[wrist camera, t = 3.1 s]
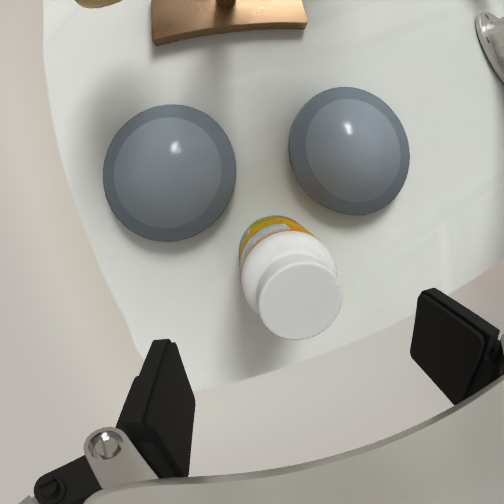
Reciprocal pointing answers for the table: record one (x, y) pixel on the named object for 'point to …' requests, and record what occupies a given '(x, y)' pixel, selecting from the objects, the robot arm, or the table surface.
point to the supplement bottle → (289, 278)
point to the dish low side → (169, 173)
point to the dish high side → (349, 151)
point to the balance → (215, 16)
